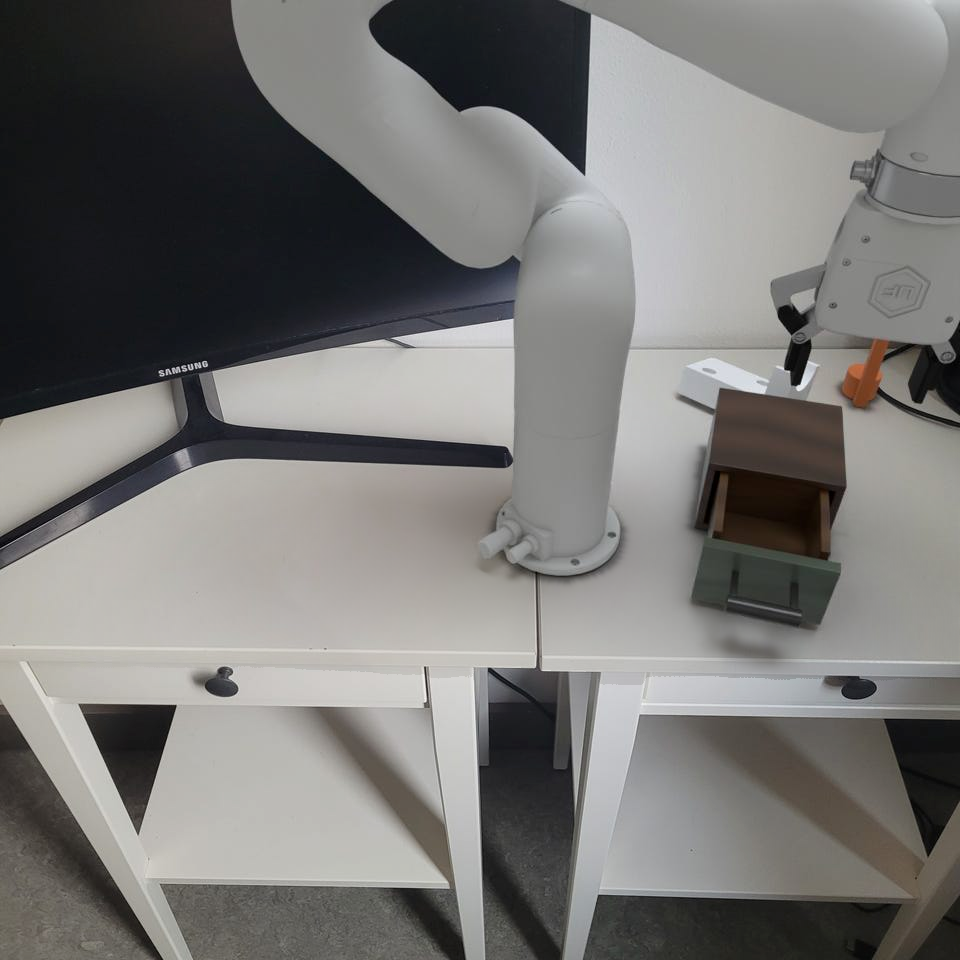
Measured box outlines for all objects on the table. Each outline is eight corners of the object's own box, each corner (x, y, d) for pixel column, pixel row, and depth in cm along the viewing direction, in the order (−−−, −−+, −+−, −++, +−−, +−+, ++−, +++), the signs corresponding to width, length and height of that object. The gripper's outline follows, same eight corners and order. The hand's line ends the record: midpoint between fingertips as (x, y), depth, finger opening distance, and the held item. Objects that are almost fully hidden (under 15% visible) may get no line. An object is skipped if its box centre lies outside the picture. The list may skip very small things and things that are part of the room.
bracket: (797, 422, 99) (820, 365, 96) (772, 435, 94) (796, 375, 91) (704, 382, 106) (722, 327, 103) (677, 392, 101) (695, 335, 98)
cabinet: (822, 552, 81) (847, 486, 76) (694, 527, 84) (708, 462, 79) (820, 469, 91) (842, 405, 86) (706, 449, 94) (719, 387, 88)
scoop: (876, 409, 100) (912, 314, 91) (842, 404, 101) (874, 310, 92) (874, 386, 104) (907, 293, 95) (840, 381, 105) (871, 288, 96)
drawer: (820, 665, 70) (843, 613, 65) (685, 635, 72) (698, 583, 68) (818, 532, 82) (837, 480, 78) (703, 510, 85) (714, 459, 80)
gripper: (802, 190, 57) (747, 395, 68) (1076, 218, 54) (972, 427, 65) (798, 155, 62) (748, 349, 73) (1046, 178, 59) (955, 377, 70)
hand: (853, 386), depth 69 cm, fingers open, 9 cm apart
